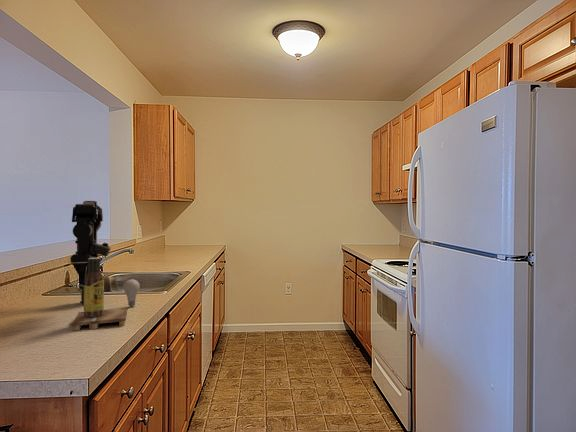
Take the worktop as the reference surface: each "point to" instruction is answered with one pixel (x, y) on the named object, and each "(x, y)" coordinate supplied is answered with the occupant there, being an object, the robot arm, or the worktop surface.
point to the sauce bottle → (93, 289)
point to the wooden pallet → (101, 318)
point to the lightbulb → (131, 291)
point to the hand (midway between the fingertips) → (85, 278)
